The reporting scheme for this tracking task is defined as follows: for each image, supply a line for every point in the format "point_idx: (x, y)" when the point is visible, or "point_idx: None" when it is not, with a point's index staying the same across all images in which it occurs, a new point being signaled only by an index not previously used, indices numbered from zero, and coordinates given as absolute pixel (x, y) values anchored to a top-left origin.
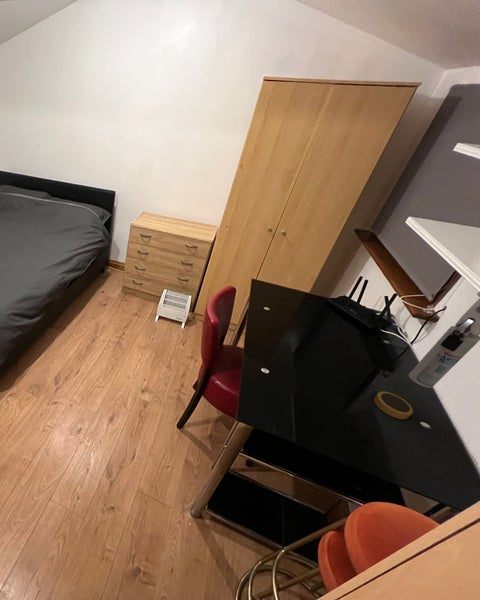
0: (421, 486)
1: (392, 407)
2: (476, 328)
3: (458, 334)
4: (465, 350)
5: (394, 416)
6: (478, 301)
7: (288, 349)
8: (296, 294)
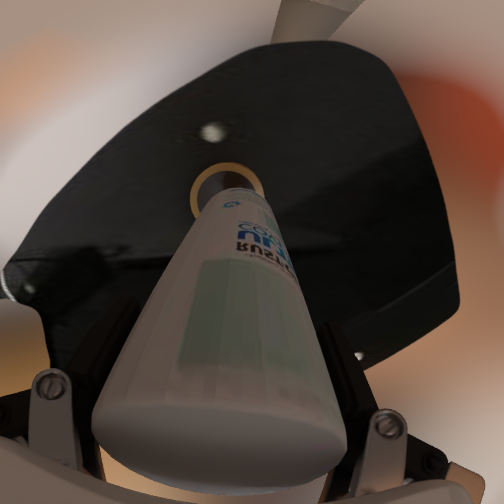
0: (403, 103)
1: None
2: None
3: (449, 465)
4: (285, 298)
5: (259, 180)
6: None
7: None
8: None
